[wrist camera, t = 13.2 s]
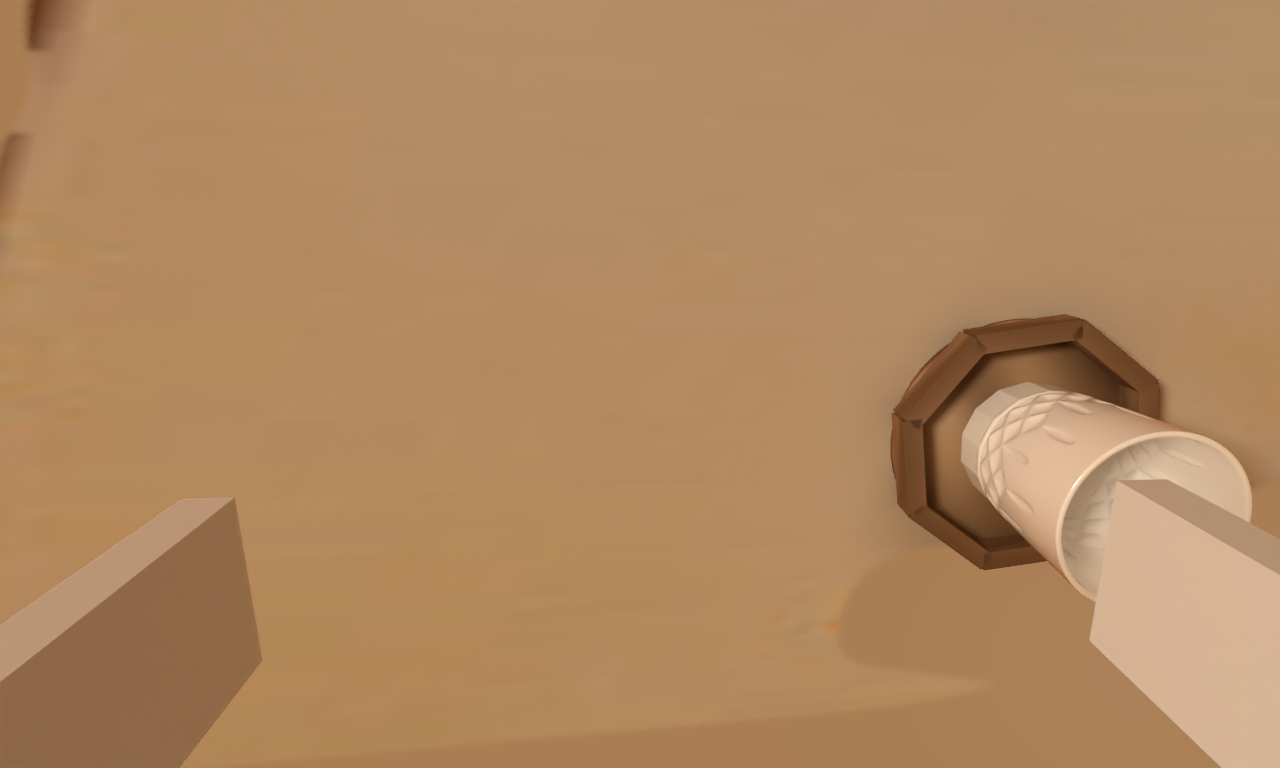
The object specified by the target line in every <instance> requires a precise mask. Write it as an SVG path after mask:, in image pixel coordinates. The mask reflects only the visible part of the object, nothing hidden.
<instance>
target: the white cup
mask: <svg viewBox="0 0 1280 768" xmlns="http://www.w3.org/2000/svg"><path fill="white" fill-rule="evenodd" d="M961 463H962V465H963V467H964V469H965V471H966V473H967V475H968V477H969V479H970V481H971V483H972V484H973V486H974V487H976V488H977V489H978V490H979V491H980V492H981V493H982V494H983V495H984V496H985V497H986V498H987V499H988V500H989V501H990V502H991V503H992V505H993V506H994V507H995V508H996V510H997V511H998V512H999V513H1000V514H1001V515H1002V516H1003V517H1004V518H1005V519H1006V520H1007V521H1008V522H1009V523H1010V524H1011V525H1012V526H1013V528H1014V529H1015V530H1016V531H1017V532H1018V533H1019V534H1020V535H1021V536H1022V537H1023V538H1024V539H1025V540H1026V541H1027V542H1028V543H1029V544H1030V545H1031V546H1032V547H1033V548H1034V549H1035V550H1036V551H1037V552H1038V553H1039V554H1040V555H1042V556H1043V557H1044V558H1045V559H1046V560H1047V561H1048V562H1049V563H1050V564H1051V565H1052V566H1053V567H1054V568H1055V569H1056V570H1057V571H1058V572H1059V573H1060V574H1061V575H1062V576H1063V577H1064V578H1065V579H1066V580H1067V581H1068V582H1069V583H1070V584H1071V585H1072V586H1073V587H1074V588H1076V590H1077V591H1079V592H1080V593H1081V594H1082V595H1084V596H1085V597H1087V598H1088V599H1089V600H1091V601H1093V602H1095V603H1096V599H1097V593H1098V587H1099V581H1100V575H1101V570H1102V564H1103V558H1104V552H1105V546H1106V540H1107V535H1108V529H1109V523H1110V517H1111V511H1112V506H1113V500H1114V494H1115V488H1116V482H1117V480H1154V479H1168V480H1169V481H1171V482H1173V483H1175V484H1177V485H1179V486H1181V487H1183V488H1185V489H1186V490H1188V491H1190V492H1192V493H1194V494H1196V495H1198V496H1200V497H1202V498H1204V499H1205V500H1207V501H1209V502H1211V503H1213V504H1215V505H1217V506H1219V507H1221V508H1222V509H1224V510H1226V511H1228V512H1230V513H1232V514H1234V515H1236V516H1238V517H1240V518H1241V519H1243V520H1245V521H1247V522H1249V523H1251V518H1252V511H1253V499H1252V490H1251V486H1250V482H1249V479H1248V477H1247V474H1246V472H1245V470H1244V468H1243V467H1242V465H1241V463H1240V462H1239V461H1238V459H1237V458H1236V457H1235V456H1234V455H1233V454H1232V453H1231V452H1230V451H1229V450H1228V449H1226V448H1225V447H1224V446H1222V445H1221V444H1219V443H1218V442H1216V441H1214V440H1212V439H1210V438H1208V437H1205V436H1202V435H1199V434H1197V433H1194V432H1191V431H1188V430H1185V429H1182V428H1180V427H1177V426H1174V425H1171V424H1168V423H1166V422H1163V421H1160V420H1157V419H1154V418H1152V417H1149V416H1146V415H1143V414H1141V413H1138V412H1135V411H1132V410H1130V409H1127V408H1124V407H1121V406H1118V405H1114V404H1111V403H1108V402H1105V401H1102V400H1099V399H1096V398H1093V397H1090V396H1087V395H1083V394H1080V393H1075V392H1071V391H1068V390H1066V389H1063V388H1060V387H1058V386H1054V385H1047V384H1040V383H1033V382H1024V383H1021V384H1017V385H1014V386H1010V387H1007V388H1004V389H1000V390H998V391H997V392H995V393H994V394H993V395H992V396H990V397H989V398H988V399H987V400H986V401H984V402H983V403H982V404H981V405H979V406H978V407H977V408H976V409H975V410H974V412H973V414H972V416H971V418H970V420H969V422H968V423H967V425H966V427H965V429H964V431H963V433H962V442H961Z"/></svg>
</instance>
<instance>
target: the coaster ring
mask: <svg viewBox="0 0 1280 768" xmlns="http://www.w3.org/2000/svg"><path fill="white" fill-rule="evenodd" d="M1157 381H1158V380H1157V379H1156V378H1155V377H1154V376H1152V375H1151V374H1150V373H1149V372H1148V371H1146V370H1145V369H1144V368H1143V367H1142V366H1140V365H1139V364H1138V363H1137V362H1136V361H1134V360H1133V359H1132V358H1131V357H1130V356H1128V355H1127V354H1126V353H1125V352H1124V351H1122V350H1121V349H1120V348H1119V347H1118V346H1116V345H1115V344H1114V343H1113V342H1112V341H1110V340H1109V339H1108V338H1107V337H1106V336H1104V335H1103V334H1102V333H1101V332H1100V331H1099V330H1097V329H1096V328H1095V327H1094V326H1093V325H1091V324H1090V323H1089V322H1088V321H1087V320H1084V319H1080V318H1077V317H1073V316H1069V315H1066V314H1063V315H1057V316H1050V317H1043V318H1037V319H1014V320H1006V321H1001V322H996V323H992V324H989V325H986V326H983V327H978V328H972V329H965V330H963V332H959V333H958V335H957V336H956V337H955V338H954V339H953V340H952V342H951V343H950V344H948V345H947V346H945V347H944V348H943V349H942V350H940V351H939V352H938V353H937V354H936V355H934V356H933V357H932V358H931V359H930V360H929V361H928V362H927V363H926V364H925V365H924V367H923V368H922V369H921V370H920V371H919V373H918V374H917V375H916V377H915V378H914V379H913V381H912V382H911V384H910V385H909V387H908V389H907V390H906V392H905V394H904V396H903V398H902V400H901V401H900V403H899V404H898V405H897V406H896V407H895V408H894V410H893V411H895V412H896V413H892V423H893V429H892V436H891V460H892V468H893V472H894V476H895V479H896V486H897V502H898V504H899V506H900V507H901V509H902V510H903V511H904V512H905V513H906V514H907V515H908V517H909V518H911V519H912V520H913V521H915V522H916V523H917V524H919V525H920V526H922V527H923V528H924V529H926V530H927V531H929V532H930V533H931V534H933V535H934V536H935V537H937V538H938V539H940V540H941V541H942V542H944V543H945V544H947V545H948V546H949V547H951V548H952V549H953V550H955V551H956V552H958V553H959V554H960V555H962V556H963V557H965V558H966V559H967V560H969V561H970V562H971V563H973V564H974V565H976V566H977V567H978V568H980V569H983V570H989V569H996V568H1003V567H1010V566H1016V565H1023V564H1030V563H1037V562H1043V561H1047V560H1046V559H1045V558H1044V557H1043V556H1042V555H1040V554H1039V553H1038V552H1037V551H1036V550H1035V549H1034V548H1033V547H1032V546H1031V545H1030V544H1029V543H1028V542H1027V541H1026V540H1025V539H1024V538H1023V537H1022V536H1021V535H1020V534H1019V533H1018V532H1017V531H1016V530H1015V529H1014V528H1013V526H1012V525H1011V524H1010V523H1009V522H1008V521H1007V520H1006V519H1005V518H1004V517H1003V516H1002V515H1001V514H1000V513H999V512H998V511H997V510H996V508H995V507H994V506H993V505H992V503H991V502H990V501H989V500H988V499H987V498H986V497H985V496H984V495H983V494H982V493H981V492H980V491H979V490H978V489H977V488H976V487H974V486H973V484H972V483H971V481H970V479H969V477H968V475H967V473H966V471H965V469H964V467H963V465H962V463H961V442H962V433H963V431H964V429H965V427H966V425H967V423H968V422H969V420H970V418H971V416H972V414H973V412H974V410H975V409H976V408H977V407H978V406H979V405H981V404H982V403H983V402H984V401H986V400H987V399H988V398H989V397H990V396H992V395H993V394H994V393H995V392H997V391H998V390H1000V389H1004V388H1007V387H1010V386H1014V385H1017V384H1021V383H1024V382H1033V383H1040V384H1047V385H1054V386H1058V387H1060V388H1063V389H1066V390H1068V391H1071V392H1075V393H1080V394H1083V395H1087V396H1090V397H1093V398H1096V399H1099V400H1102V401H1105V402H1108V403H1111V404H1114V405H1118V406H1121V407H1124V408H1127V409H1130V410H1132V411H1135V412H1138V413H1141V414H1143V415H1146V416H1149V417H1152V418H1154V419H1157V420H1158V411H1159V385H1160V383H1158V382H1157Z"/></svg>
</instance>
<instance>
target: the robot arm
mask: <svg viewBox="0 0 1280 768" xmlns="http://www.w3.org/2000/svg"><path fill="white" fill-rule="evenodd" d="M1089 641H1090V642H1091V643H1092V644H1094V645H1095V646H1096V647H1097V648H1098V649H1099V650H1100V651H1101V652H1102V653H1103V654H1104V655H1105V656H1106V657H1107V658H1108V659H1109V660H1110V661H1111V662H1112V663H1113V664H1114V665H1115V666H1116V667H1118V669H1119V670H1121V671H1122V672H1123V673H1124V674H1125V675H1126V676H1127V677H1128V678H1129V679H1130V680H1131V681H1132V682H1133V683H1134V684H1135V685H1136V686H1137V687H1138V688H1139V689H1140V690H1141V691H1142V692H1144V693H1145V695H1147V696H1148V697H1149V698H1150V699H1151V700H1152V701H1153V702H1154V703H1155V704H1156V705H1157V706H1158V707H1159V708H1160V709H1161V710H1162V711H1163V712H1164V713H1165V714H1166V715H1167V716H1168V717H1169V718H1171V720H1173V721H1174V722H1175V723H1176V724H1177V725H1178V726H1179V727H1180V728H1181V729H1182V730H1183V731H1184V732H1185V733H1186V734H1187V735H1188V736H1189V737H1190V738H1191V739H1192V740H1193V741H1194V742H1195V743H1196V744H1198V745H1199V746H1200V747H1201V748H1202V749H1203V750H1204V751H1205V752H1206V753H1207V754H1208V755H1209V756H1210V757H1211V758H1212V759H1213V760H1214V761H1215V762H1216V763H1218V765H1219V766H1221V768H1280V539H1279V538H1277V537H1276V536H1274V535H1272V534H1270V533H1268V532H1266V531H1264V530H1262V529H1260V528H1258V527H1257V526H1255V525H1253V524H1251V523H1249V522H1247V521H1245V520H1243V519H1241V518H1240V517H1238V516H1236V515H1234V514H1232V513H1230V512H1228V511H1226V510H1224V509H1222V508H1221V507H1219V506H1217V505H1215V504H1213V503H1211V502H1209V501H1207V500H1205V499H1204V498H1202V497H1200V496H1198V495H1196V494H1194V493H1192V492H1190V491H1188V490H1186V489H1185V488H1183V487H1181V486H1179V485H1177V484H1175V483H1173V482H1171V481H1169V480H1168V479H1154V480H1117V482H1116V488H1115V494H1114V500H1113V506H1112V511H1111V517H1110V523H1109V529H1108V535H1107V540H1106V546H1105V552H1104V558H1103V564H1102V570H1101V575H1100V581H1099V587H1098V593H1097V599H1096V605H1095V611H1094V616H1093V623H1092V628H1091V634H1090V640H1089ZM261 661H262V656H261V650H260V644H259V638H258V632H257V626H256V621H255V615H254V609H253V603H252V597H251V591H250V585H249V579H248V573H247V567H246V562H245V556H244V550H243V544H242V538H241V532H240V526H239V520H238V514H237V509H236V503H235V498H186V499H181V500H179V501H178V502H176V503H175V504H173V505H172V506H170V507H169V508H168V509H166V510H165V511H163V512H162V513H160V514H159V515H158V516H156V517H155V518H153V519H152V520H150V521H149V522H147V523H146V524H145V525H143V526H142V527H140V528H139V529H137V530H136V531H134V532H133V533H132V534H130V535H129V536H127V537H126V538H124V539H123V540H122V541H120V542H119V543H117V544H116V545H114V546H113V547H111V548H110V549H109V550H107V551H106V552H104V553H103V554H101V555H100V556H98V557H97V558H96V559H94V560H93V561H91V562H90V563H88V564H87V565H86V566H84V567H83V568H81V569H80V570H78V571H77V572H75V573H74V574H73V575H71V576H70V577H68V578H67V579H65V580H64V581H63V582H61V583H60V584H58V585H57V586H55V587H54V588H52V589H51V590H50V591H48V592H47V593H45V594H44V595H42V596H41V597H39V598H38V599H37V600H35V601H34V602H32V603H31V604H29V605H28V606H27V607H25V608H24V609H22V610H21V611H19V612H18V613H16V614H15V615H14V616H12V617H11V618H9V619H8V620H6V621H5V622H3V623H2V624H1V625H0V768H180V766H181V765H182V764H183V762H184V761H185V760H186V759H187V757H188V756H189V755H190V753H191V752H192V751H193V750H194V748H195V747H196V746H197V744H198V743H199V742H200V740H201V739H202V738H203V737H204V735H205V734H206V733H207V731H208V730H209V729H210V727H211V726H212V725H213V724H214V722H215V721H216V720H217V718H218V717H219V716H220V714H221V713H222V712H223V711H224V709H225V708H226V707H227V705H228V704H229V703H230V701H231V700H232V699H233V698H234V696H235V695H236V694H237V692H238V691H239V690H240V689H241V687H242V686H243V685H244V683H245V682H246V681H247V679H248V678H249V677H250V676H251V674H252V673H253V672H254V670H255V669H256V668H257V666H258V665H259V664H260V663H261Z"/></svg>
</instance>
